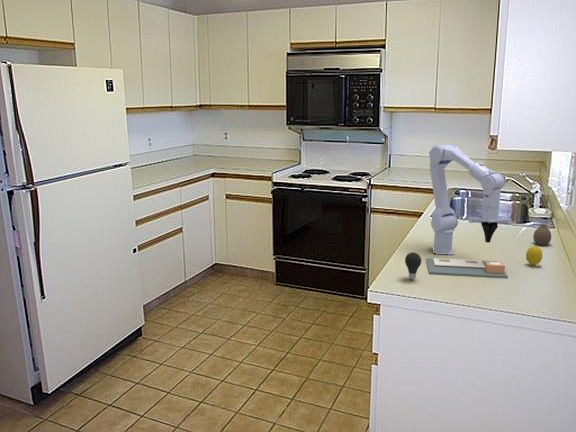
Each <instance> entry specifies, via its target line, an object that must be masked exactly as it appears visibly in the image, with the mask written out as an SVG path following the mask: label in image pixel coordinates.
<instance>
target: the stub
mask: <svg viewBox="0 0 576 432" xmlns="http://www.w3.org/2000/svg"><path fill="white" fill-rule="evenodd" d="M484 261H485V271H486V272H487V273H498V274H504V272H505V273H506V271H505V269H506V265H505V264H504V262H502V261H497V262H487V261H488V260H484Z"/></svg>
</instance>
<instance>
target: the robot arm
mask: <svg viewBox="0 0 576 432" xmlns="http://www.w3.org/2000/svg"><path fill="white" fill-rule="evenodd" d="M428 153H429V161H430V163H429V172H430V178H431V184H432V185H431V186H432V190H433V191H432V193H433V198H434V206H435V209H434V211H433V212H432V213H431V221H430V226H431V228H432V230H433V232H434V237H433V246H434V250H433V251H432V254H433V253H436V254H435V255H446V254H448V255H454V251H453V248H452V247H453V238H454V237H453V235H454V232H455V229H456V228H457V227H458V223H459V220H458V218H457V215H456V211H455V210H454V209H453V208H452V207H450V201H449V193H448V192H449V191H448V187H447V180H446V174H445V169H446V167H447V166H448V164H450V163H451V162H456V163H457V164H459V165H460V166H462V167H464V168H465V169H466V170H467V171H468V174H469V176H471V177H472V178H473V179H474V180H476V181H478V182H479V183H480V186H481V188H482V193H483V197H482V198H483V199H482V206H481V207H482V208H481V216H480V215H479V216H468V223H469V224H473V223H474V224H475V223H476V224H477V223H478V224H481V228H482V230H483V233H484V241H485V243H491V241H492V237H493V235H494V234H495V231H496V230H498V227H499V225H498V224H501V225H502V224H505V225H506V224H507V225H511V224H512V223H511V222H512V219H511V218H510V217H500V216H499V213H500V212H499V211H500V204H501V203H500V202H501V201H500V200H501V192H502V189H503V187H504V186H505V185H506V180H505V179H506V178H505V176H504V175H503V174H502V173H500V172H496V173H495V171H494V170H492V169H490V168H488V167H487V166H486V165H485V163H484V162H480V161H478V162H475V161H474V160H473V159H471V158H470V157H468V155H466V154H465V153H464V152H462V151H461V149H460V147H458V146H457V145H456V144H453V143H450V144H442V145H434V146H432V148H431V149H430V151H429V152H428ZM448 255H447V256H448Z"/></svg>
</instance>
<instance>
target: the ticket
mask: <svg viewBox="0 0 576 432" xmlns="http://www.w3.org/2000/svg"><path fill="white" fill-rule="evenodd" d="M433 261H434V265H435V266H436V267H455V268H475V269H485V266H484V264H483V262H482V261H483V260H482V259H481V260H480V259H479V260H478V259H462V258H461V259H460V258H459V259H458V258H438V257H436V258H435V257H433Z"/></svg>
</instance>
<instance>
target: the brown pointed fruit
mask: <svg viewBox="0 0 576 432" xmlns="http://www.w3.org/2000/svg"><path fill="white" fill-rule="evenodd" d="M532 236H533V237H532V239H533V242H534V243H535V245H536V246H537V245H538V246H540V247H546V246H547V245H549V244H550V243H551V240H552V233H551V231H550V229H549V228H548V225H547V224H545V223H544V224H540V225H539V226H538V227H537V229H536V230H534V232H533V235H532Z"/></svg>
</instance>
